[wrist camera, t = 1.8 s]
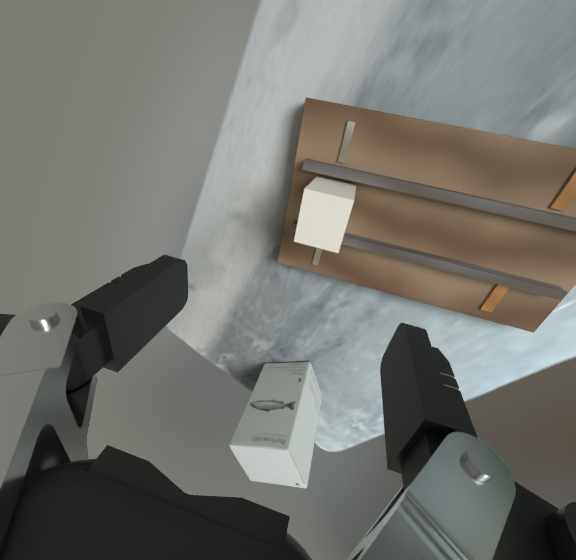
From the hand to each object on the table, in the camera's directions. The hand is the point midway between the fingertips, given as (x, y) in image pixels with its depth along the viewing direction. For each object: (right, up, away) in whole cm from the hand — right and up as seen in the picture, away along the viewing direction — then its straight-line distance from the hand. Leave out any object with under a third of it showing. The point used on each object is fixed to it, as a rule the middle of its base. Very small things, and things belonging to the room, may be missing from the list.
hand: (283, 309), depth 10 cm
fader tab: (+4, +8, +14) cm, 17 cm away
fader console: (+13, +7, +15) cm, 21 cm away
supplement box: (+1, -14, +30) cm, 33 cm away
